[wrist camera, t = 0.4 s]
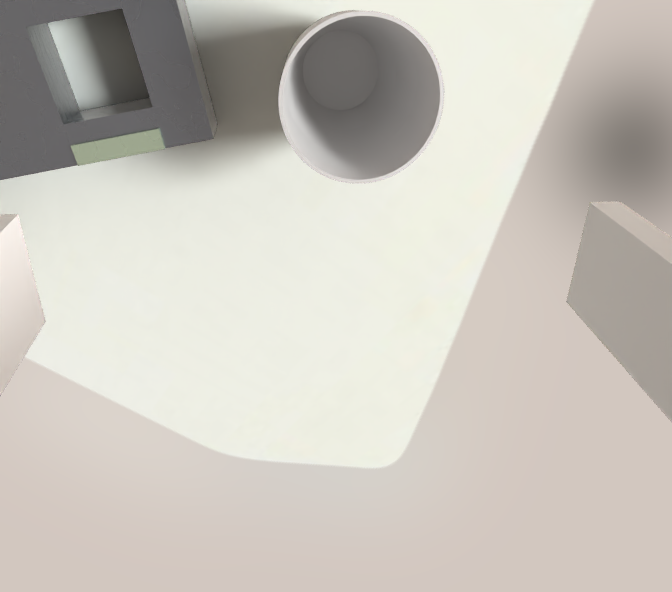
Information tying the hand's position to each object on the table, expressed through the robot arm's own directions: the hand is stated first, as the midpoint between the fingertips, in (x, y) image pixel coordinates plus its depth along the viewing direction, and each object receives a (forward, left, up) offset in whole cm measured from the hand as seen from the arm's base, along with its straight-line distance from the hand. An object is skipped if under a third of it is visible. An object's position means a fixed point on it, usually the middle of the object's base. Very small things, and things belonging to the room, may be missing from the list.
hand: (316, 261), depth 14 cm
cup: (0, +3, -27) cm, 27 cm away
